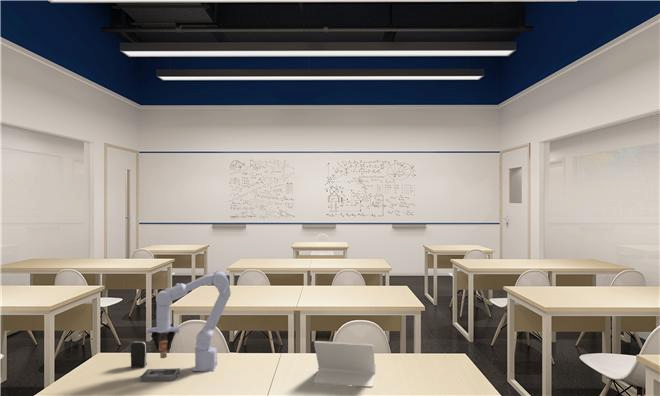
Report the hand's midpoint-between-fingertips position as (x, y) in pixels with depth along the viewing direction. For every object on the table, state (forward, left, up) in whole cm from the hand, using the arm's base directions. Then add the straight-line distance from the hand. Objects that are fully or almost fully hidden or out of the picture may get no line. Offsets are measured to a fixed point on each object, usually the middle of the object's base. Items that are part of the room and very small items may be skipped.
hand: (163, 349), depth 184 cm
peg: (0, 0, -4) cm, 4 cm away
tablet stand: (-80, +9, -11) cm, 81 cm away
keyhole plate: (0, +5, -10) cm, 11 cm away
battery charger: (+14, -8, -11) cm, 19 cm away
